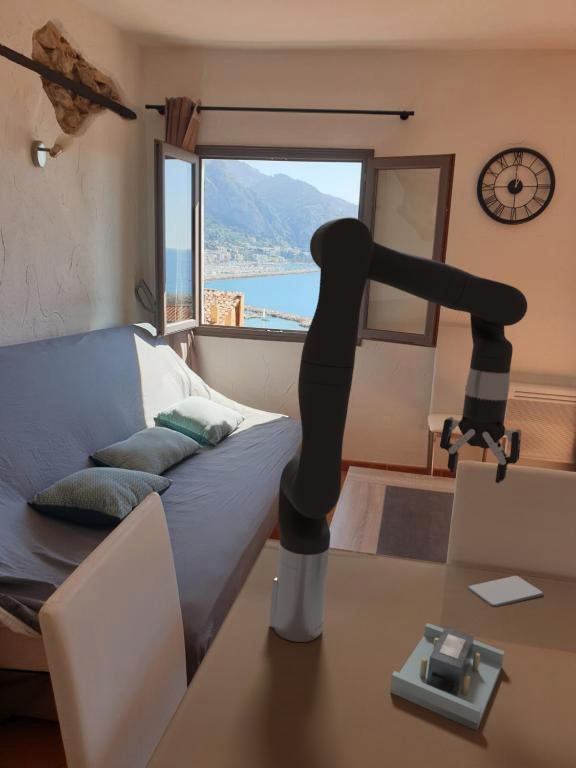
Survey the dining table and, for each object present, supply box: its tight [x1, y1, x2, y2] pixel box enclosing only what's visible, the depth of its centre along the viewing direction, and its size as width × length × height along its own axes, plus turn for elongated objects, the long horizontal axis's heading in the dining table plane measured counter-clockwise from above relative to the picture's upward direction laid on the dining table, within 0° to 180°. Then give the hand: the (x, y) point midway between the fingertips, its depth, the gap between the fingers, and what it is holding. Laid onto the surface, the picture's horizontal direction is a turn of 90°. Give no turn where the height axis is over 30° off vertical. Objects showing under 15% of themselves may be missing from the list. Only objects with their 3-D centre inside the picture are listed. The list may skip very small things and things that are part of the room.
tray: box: [389, 622, 505, 731], centre depth 100 cm, size 14×18×4 cm
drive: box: [426, 626, 475, 696], centre depth 99 cm, size 10×5×5 cm, turn 151°
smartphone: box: [467, 575, 544, 608], centre depth 130 cm, size 8×1×15 cm
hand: (475, 476), depth 112 cm, fingers open, 8 cm apart
